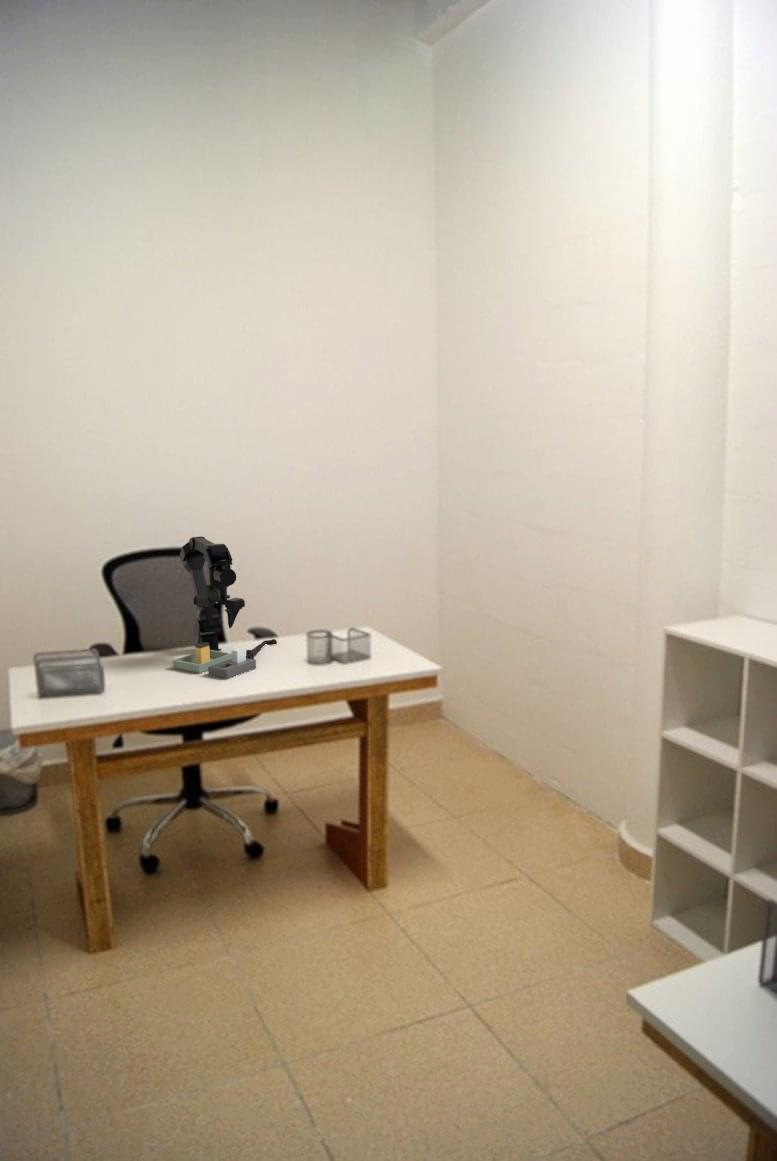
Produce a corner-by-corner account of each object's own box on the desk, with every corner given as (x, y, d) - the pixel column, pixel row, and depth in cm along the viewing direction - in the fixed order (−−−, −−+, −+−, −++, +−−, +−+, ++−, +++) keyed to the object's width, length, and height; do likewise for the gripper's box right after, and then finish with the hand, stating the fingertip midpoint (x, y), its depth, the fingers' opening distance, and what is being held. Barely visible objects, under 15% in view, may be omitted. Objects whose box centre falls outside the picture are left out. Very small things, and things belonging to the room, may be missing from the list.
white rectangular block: (232, 670, 292) (231, 650, 291) (240, 667, 296) (239, 647, 294) (238, 671, 291) (237, 651, 290) (246, 668, 294) (245, 648, 293)
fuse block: (208, 675, 287) (208, 666, 287) (238, 665, 299) (237, 656, 298) (227, 679, 283) (226, 670, 282) (256, 668, 294) (255, 659, 294)
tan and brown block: (196, 664, 298) (195, 644, 297) (204, 661, 301) (203, 641, 300) (201, 665, 297) (200, 645, 295) (210, 662, 300) (209, 642, 299)
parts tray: (173, 669, 296) (172, 660, 295) (207, 657, 309) (206, 649, 308) (199, 674, 289) (199, 665, 289) (233, 662, 302) (232, 653, 302)
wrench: (278, 649, 326) (259, 666, 296) (264, 650, 326) (244, 667, 297) (277, 635, 325) (257, 651, 296) (263, 636, 326) (242, 652, 296)
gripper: (180, 582, 298) (183, 628, 301) (221, 587, 288) (224, 634, 291) (204, 577, 307) (206, 621, 310) (244, 582, 298) (247, 627, 300)
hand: (220, 626), depth 303 cm, fingers open, 9 cm apart
